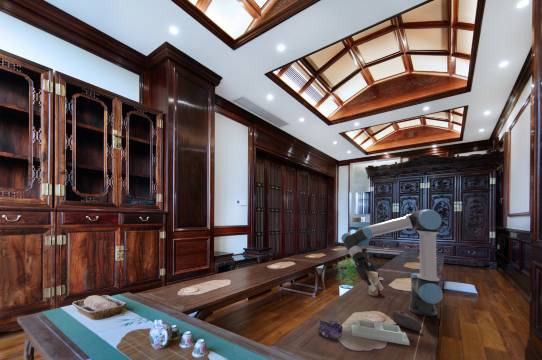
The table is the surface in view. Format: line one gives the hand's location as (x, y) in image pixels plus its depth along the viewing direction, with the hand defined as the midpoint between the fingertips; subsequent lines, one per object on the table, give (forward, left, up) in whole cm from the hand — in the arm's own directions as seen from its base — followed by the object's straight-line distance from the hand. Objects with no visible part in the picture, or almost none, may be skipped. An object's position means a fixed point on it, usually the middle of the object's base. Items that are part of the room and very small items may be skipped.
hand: (378, 289), depth 143 cm
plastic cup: (-4, -62, -19) cm, 65 cm away
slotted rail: (+1, +14, -18) cm, 23 cm away
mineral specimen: (+24, +20, -19) cm, 37 cm away
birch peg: (+2, -3, -3) cm, 5 cm away
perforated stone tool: (-15, -2, -19) cm, 24 cm away
